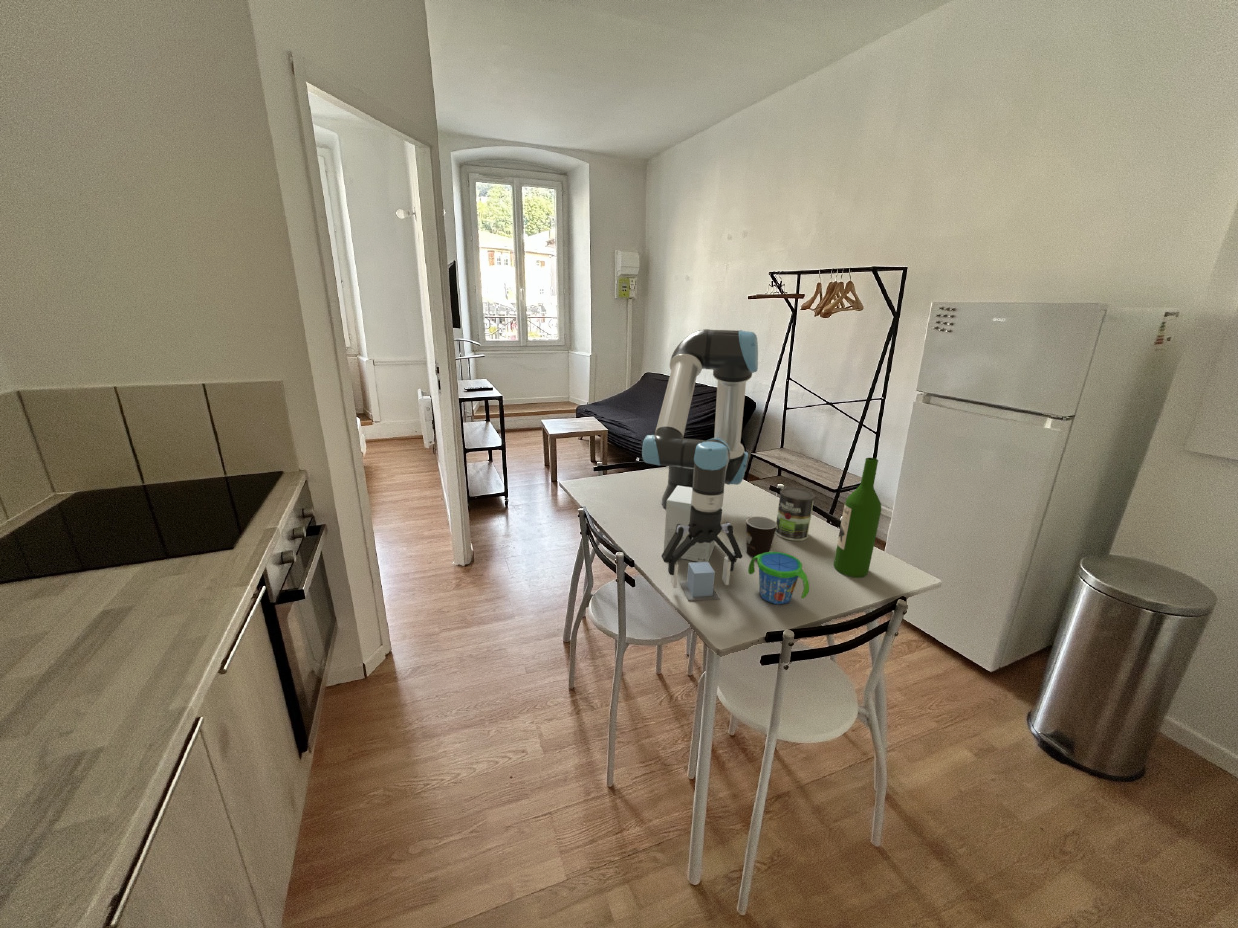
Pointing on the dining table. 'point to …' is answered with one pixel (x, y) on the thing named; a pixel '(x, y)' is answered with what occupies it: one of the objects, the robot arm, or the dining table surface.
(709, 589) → the light blue block
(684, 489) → the supplement box
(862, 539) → the wine bottle
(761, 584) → the snack cup
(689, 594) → the grey square base
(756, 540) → the coffee mug
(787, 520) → the coffee can
